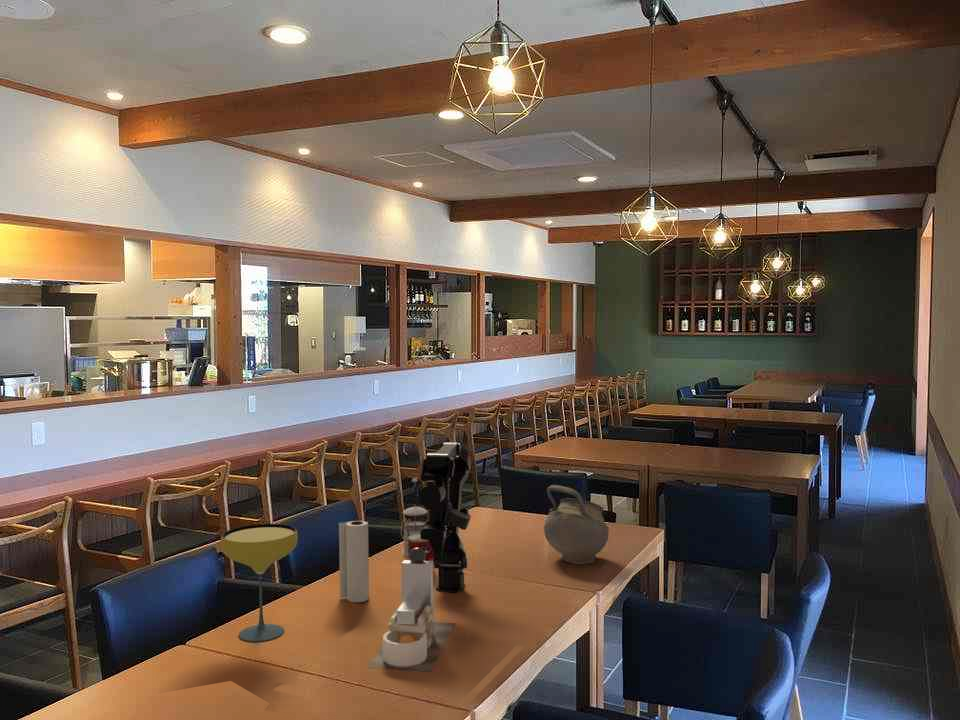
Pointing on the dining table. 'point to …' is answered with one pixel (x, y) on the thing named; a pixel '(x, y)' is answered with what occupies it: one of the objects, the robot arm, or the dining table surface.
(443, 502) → the robot arm
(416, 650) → the cup
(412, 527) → the french press
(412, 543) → the canned food
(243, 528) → the cocktail glass
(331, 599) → the dining table surface
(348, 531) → the paper towel roll
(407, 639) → the ball
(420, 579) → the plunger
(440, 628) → the launcher
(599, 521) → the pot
